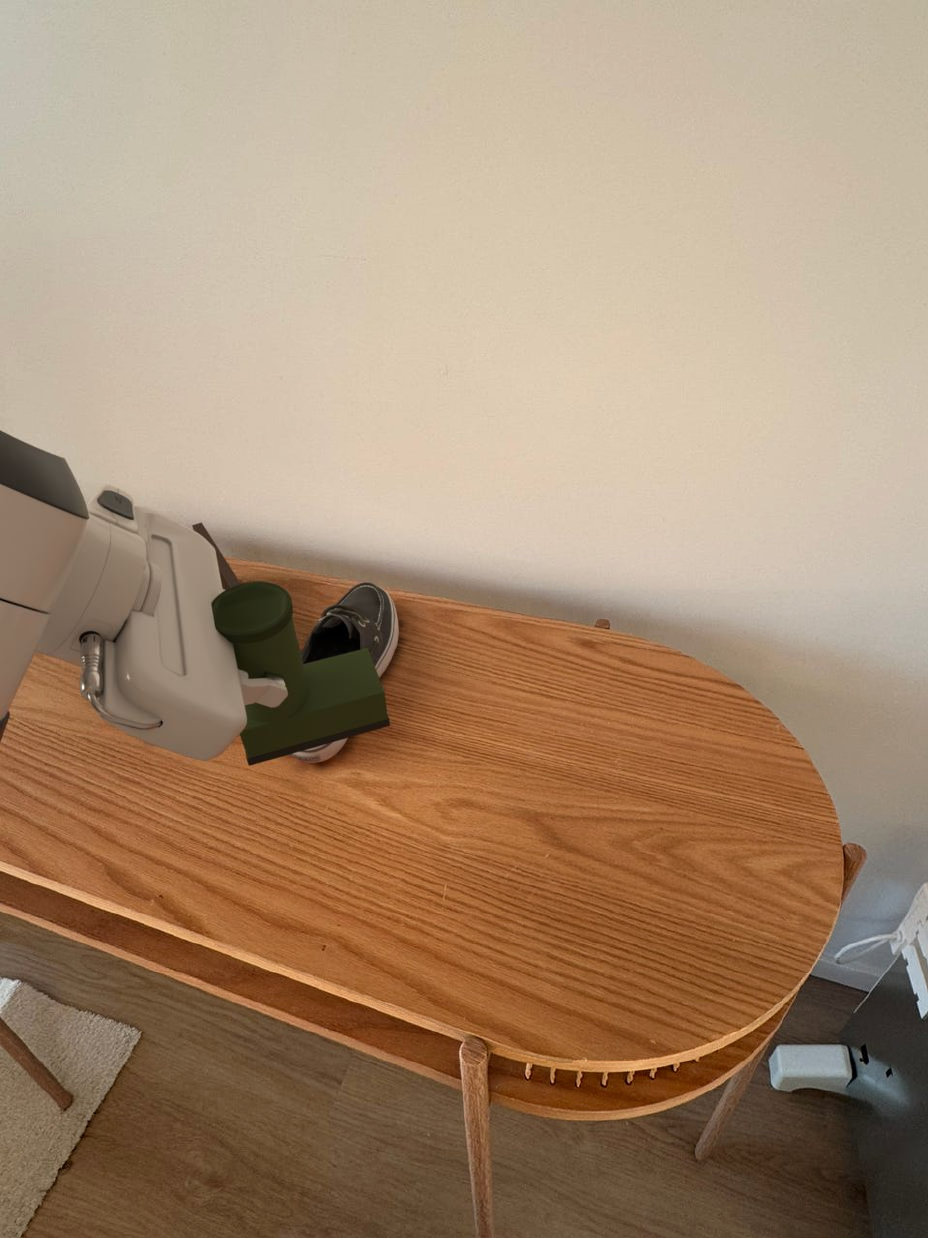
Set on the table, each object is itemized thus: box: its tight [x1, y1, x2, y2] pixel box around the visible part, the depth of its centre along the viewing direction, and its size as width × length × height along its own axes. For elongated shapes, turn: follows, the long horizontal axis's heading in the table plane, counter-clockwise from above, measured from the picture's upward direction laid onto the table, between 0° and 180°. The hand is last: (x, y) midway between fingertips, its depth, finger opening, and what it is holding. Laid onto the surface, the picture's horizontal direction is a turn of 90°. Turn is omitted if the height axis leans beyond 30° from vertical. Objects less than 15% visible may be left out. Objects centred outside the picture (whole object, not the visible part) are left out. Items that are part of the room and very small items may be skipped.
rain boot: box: [211, 580, 391, 767], centre depth 54 cm, size 11×6×13 cm, turn 110°
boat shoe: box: [289, 582, 400, 764], centre depth 79 cm, size 26×9×8 cm, turn 165°
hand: (274, 662), depth 53 cm, fingers closed on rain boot, 5 cm apart
